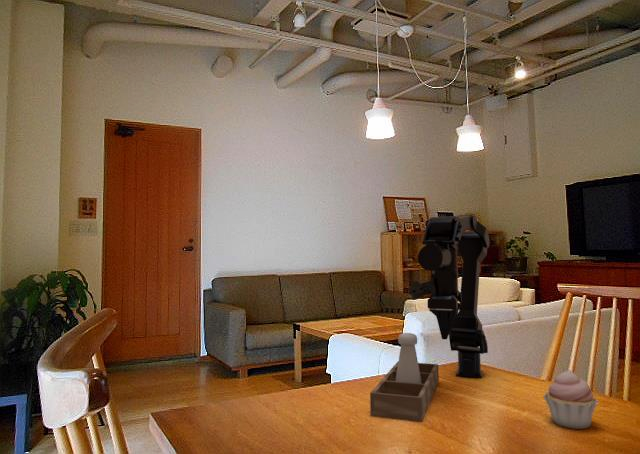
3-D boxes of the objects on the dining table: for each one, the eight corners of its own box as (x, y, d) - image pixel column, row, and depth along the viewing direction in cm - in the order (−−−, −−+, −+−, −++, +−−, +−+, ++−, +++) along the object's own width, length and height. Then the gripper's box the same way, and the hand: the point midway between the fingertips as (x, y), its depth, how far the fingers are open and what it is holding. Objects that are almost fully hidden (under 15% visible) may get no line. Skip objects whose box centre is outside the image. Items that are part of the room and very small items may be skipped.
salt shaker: (414, 397, 103) (413, 337, 103) (391, 392, 106) (390, 334, 107) (425, 390, 107) (424, 333, 108) (402, 386, 111) (401, 330, 112)
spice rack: (398, 378, 122) (397, 361, 122) (438, 382, 119) (438, 364, 119) (370, 415, 95) (370, 393, 95) (421, 421, 91) (421, 398, 92)
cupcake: (607, 424, 90) (605, 370, 90) (588, 437, 83) (586, 379, 84) (556, 411, 97) (554, 362, 97) (535, 422, 90) (534, 369, 91)
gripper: (416, 267, 124) (417, 328, 123) (404, 270, 106) (405, 341, 105) (461, 268, 120) (462, 330, 119) (455, 271, 102) (457, 344, 101)
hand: (446, 335), depth 111 cm, fingers open, 9 cm apart
